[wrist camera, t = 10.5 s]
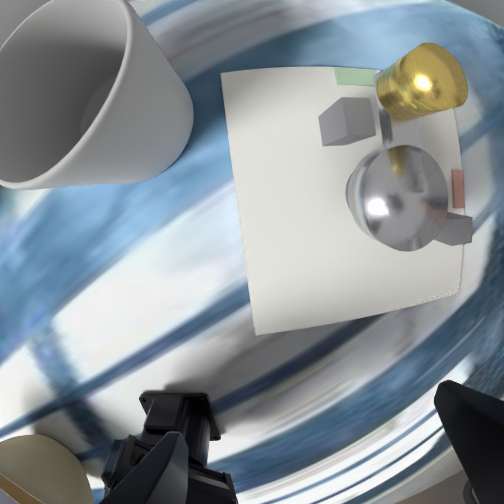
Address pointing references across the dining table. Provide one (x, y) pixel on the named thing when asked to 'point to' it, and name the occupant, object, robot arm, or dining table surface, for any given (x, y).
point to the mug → (88, 99)
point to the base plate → (328, 199)
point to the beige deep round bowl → (42, 472)
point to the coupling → (407, 152)
